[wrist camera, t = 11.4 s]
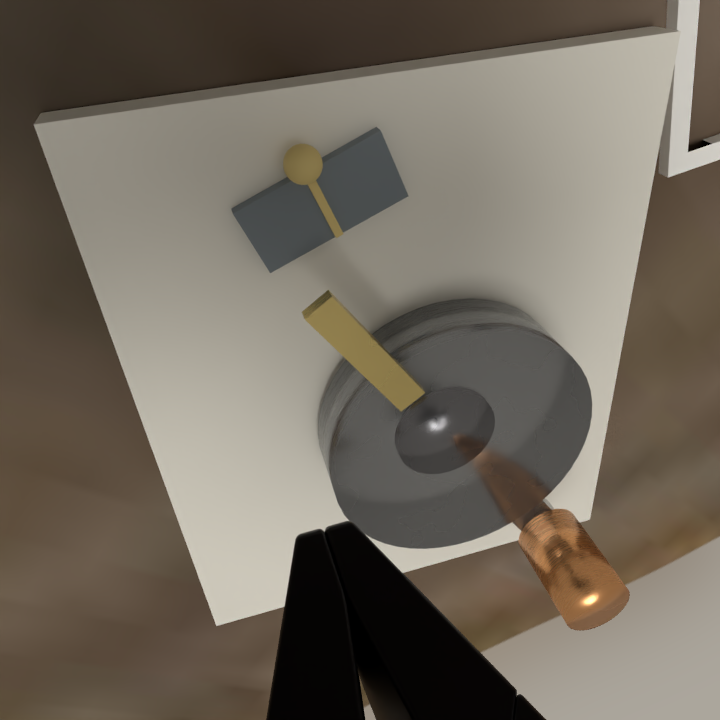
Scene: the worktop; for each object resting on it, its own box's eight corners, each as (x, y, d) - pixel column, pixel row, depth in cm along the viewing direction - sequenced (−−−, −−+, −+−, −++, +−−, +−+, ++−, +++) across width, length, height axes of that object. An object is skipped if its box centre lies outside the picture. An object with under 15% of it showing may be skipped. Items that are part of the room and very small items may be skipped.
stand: (40, 112, 16) (25, 137, 14) (653, 25, 18) (711, 36, 17) (214, 601, 27) (219, 652, 25) (575, 500, 30) (604, 539, 28)
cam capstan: (184, 363, 19) (194, 496, 14) (423, 157, 17) (517, 234, 13) (451, 567, 28) (508, 688, 23) (624, 443, 26) (720, 547, 22)
